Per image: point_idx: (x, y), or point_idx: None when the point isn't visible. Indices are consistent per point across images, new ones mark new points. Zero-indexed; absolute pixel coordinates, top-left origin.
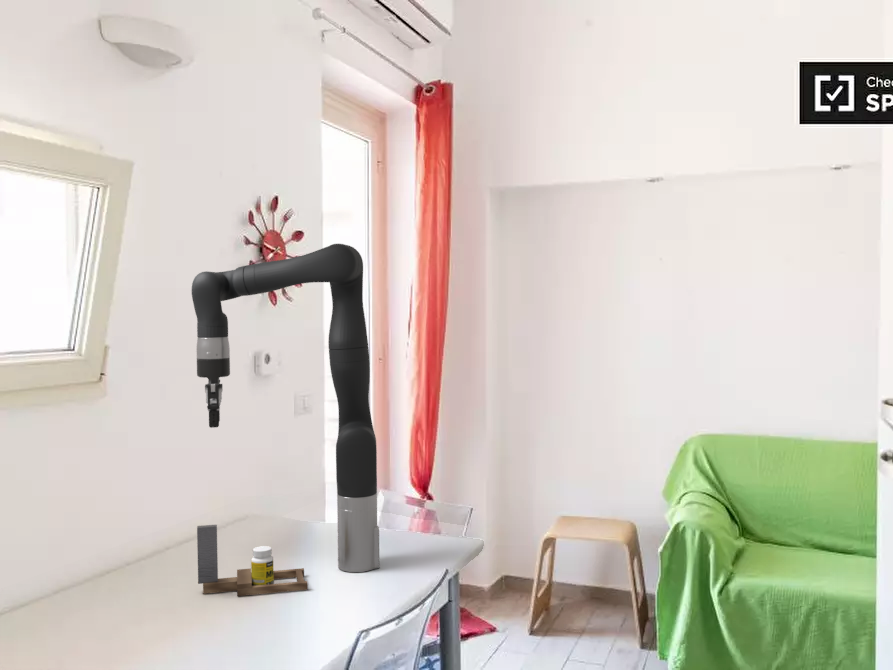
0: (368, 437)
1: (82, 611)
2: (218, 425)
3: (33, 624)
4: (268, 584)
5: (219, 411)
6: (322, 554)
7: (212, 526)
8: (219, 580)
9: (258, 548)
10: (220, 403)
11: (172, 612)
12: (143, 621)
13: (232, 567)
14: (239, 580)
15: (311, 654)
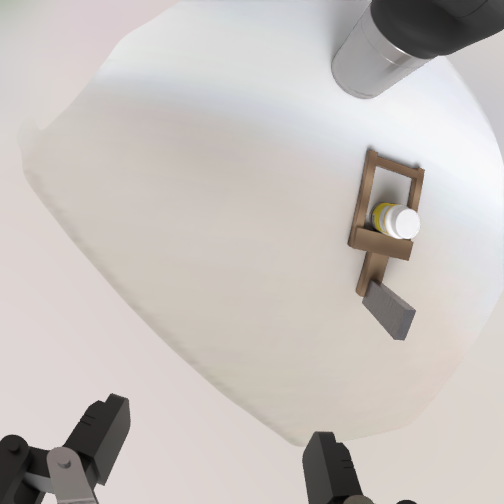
0: None
1: (343, 402)
2: (332, 435)
3: (349, 428)
4: None
5: (101, 435)
6: (277, 91)
7: (412, 317)
8: (373, 277)
9: (405, 229)
10: (56, 456)
11: None
12: (405, 353)
13: (277, 237)
14: (397, 254)
15: None
